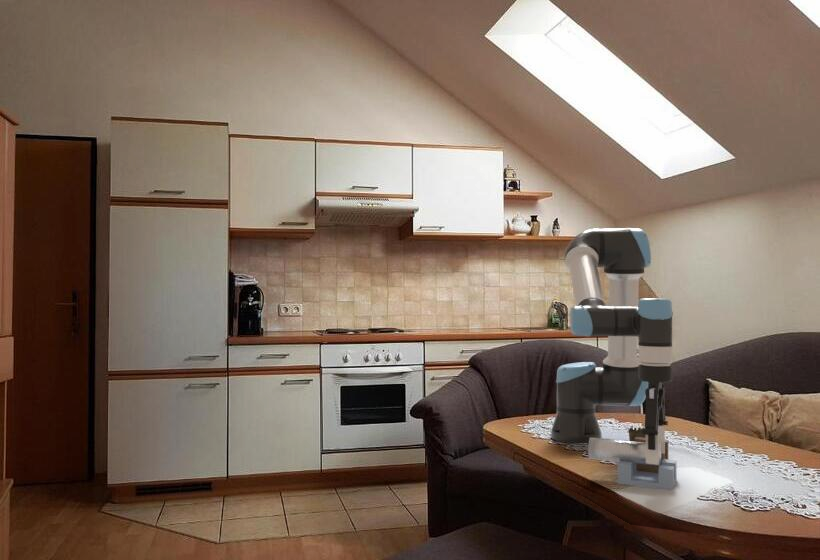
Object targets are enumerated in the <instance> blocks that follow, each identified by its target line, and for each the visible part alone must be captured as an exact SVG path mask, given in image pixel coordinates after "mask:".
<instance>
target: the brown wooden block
mask: <svg viewBox="0 0 820 560" xmlns="http://www.w3.org/2000/svg"><path fill="white" fill-rule="evenodd" d="M634 442H645V443H646V438H642V437H635V438H634ZM663 459H667V460H669V439H665V454H662V453H661V465H662V460H663ZM637 471H643V472H652V473H659V466H655V465H646V464H637Z"/></svg>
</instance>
